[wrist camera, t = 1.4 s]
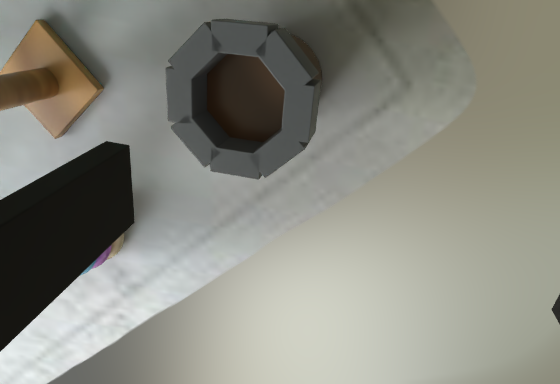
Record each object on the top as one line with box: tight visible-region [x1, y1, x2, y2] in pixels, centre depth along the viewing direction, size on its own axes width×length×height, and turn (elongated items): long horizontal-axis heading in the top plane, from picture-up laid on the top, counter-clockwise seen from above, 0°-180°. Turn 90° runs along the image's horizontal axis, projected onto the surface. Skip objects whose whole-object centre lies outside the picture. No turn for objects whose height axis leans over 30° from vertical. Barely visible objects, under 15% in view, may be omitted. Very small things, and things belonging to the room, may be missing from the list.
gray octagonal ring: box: [166, 19, 321, 179], centre depth 27 cm, size 10×10×2 cm
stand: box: [207, 34, 322, 142], centre depth 32 cm, size 8×8×8 cm
